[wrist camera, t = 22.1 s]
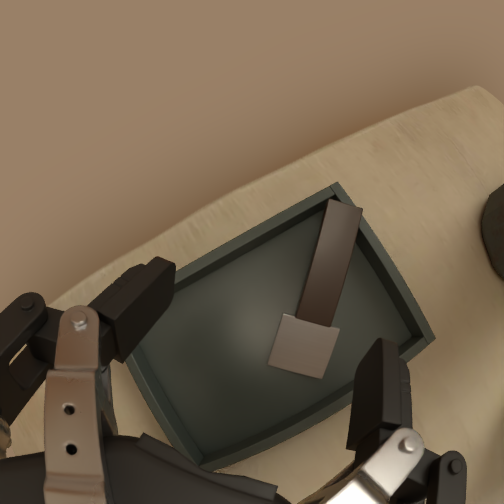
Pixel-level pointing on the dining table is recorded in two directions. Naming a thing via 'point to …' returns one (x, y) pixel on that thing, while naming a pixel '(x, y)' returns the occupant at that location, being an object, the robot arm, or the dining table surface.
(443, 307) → the dining table surface
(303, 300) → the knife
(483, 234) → the bottle
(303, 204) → the tray
